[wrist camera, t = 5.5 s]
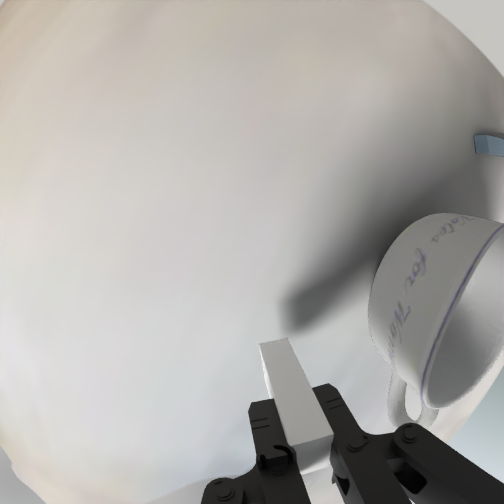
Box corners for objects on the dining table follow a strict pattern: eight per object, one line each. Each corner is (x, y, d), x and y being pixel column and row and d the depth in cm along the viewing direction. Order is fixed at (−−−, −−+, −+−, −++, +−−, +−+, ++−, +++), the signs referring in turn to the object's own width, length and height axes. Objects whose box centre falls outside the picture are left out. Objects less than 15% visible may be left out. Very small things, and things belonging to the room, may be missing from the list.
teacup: (397, 172, 15) (502, 178, 7) (471, 246, 17) (543, 274, 9) (292, 361, 17) (335, 456, 9) (390, 385, 19) (438, 444, 12)
